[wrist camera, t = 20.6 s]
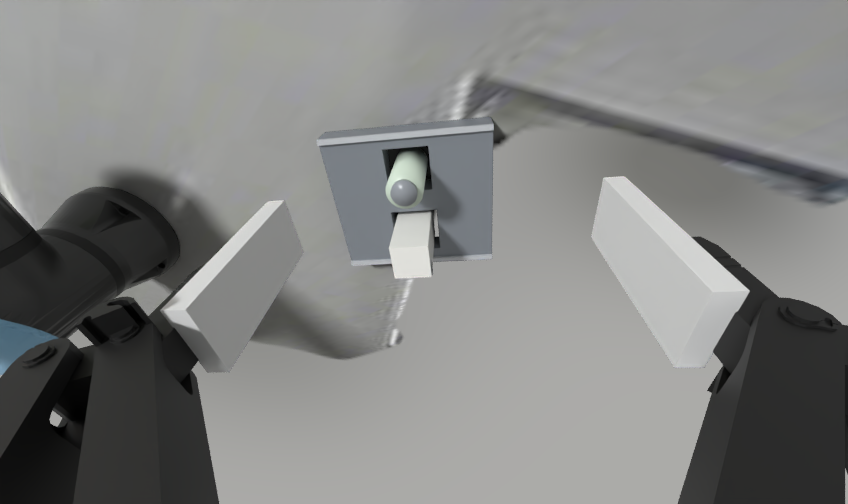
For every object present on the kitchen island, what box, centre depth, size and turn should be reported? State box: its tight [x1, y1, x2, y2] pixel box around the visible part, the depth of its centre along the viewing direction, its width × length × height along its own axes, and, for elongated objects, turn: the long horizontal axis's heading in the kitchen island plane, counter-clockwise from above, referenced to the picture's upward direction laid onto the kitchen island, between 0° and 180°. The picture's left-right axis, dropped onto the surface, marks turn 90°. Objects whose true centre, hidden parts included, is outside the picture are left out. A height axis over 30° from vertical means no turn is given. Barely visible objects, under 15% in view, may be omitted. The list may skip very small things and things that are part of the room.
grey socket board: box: [316, 117, 494, 266], centre depth 44 cm, size 20×18×3 cm
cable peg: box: [386, 147, 428, 209], centre depth 39 cm, size 4×4×10 cm
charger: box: [389, 210, 435, 279], centre depth 43 cm, size 5×4×10 cm
